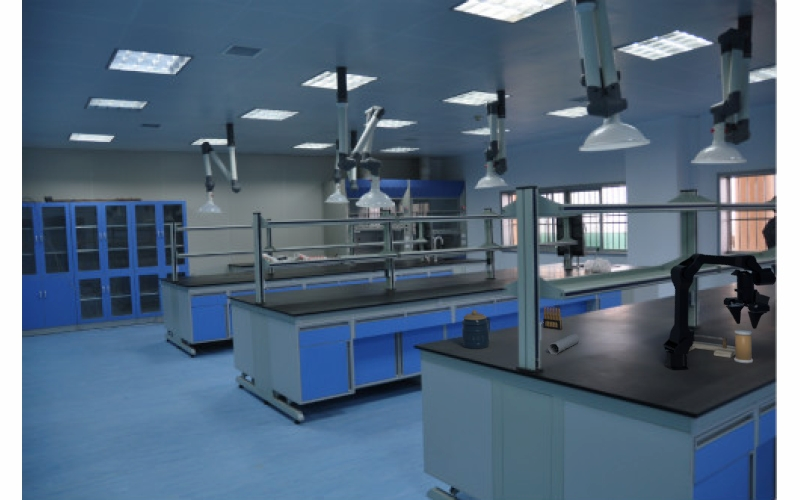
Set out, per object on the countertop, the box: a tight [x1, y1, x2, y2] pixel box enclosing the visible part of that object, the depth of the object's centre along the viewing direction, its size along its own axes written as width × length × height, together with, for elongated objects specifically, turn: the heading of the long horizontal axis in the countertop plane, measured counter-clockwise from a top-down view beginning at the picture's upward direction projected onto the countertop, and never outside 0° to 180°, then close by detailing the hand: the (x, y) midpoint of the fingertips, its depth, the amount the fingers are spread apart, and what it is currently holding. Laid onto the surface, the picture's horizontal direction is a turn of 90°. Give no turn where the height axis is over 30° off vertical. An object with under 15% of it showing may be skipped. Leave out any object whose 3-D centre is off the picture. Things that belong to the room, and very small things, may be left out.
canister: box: [461, 309, 490, 350], centre depth 259 cm, size 13×13×18 cm
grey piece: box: [689, 333, 735, 358], centre depth 230 cm, size 14×22×6 cm, turn 42°
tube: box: [547, 333, 580, 355], centre depth 247 cm, size 5×5×25 cm
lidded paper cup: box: [733, 329, 754, 364], centre depth 212 cm, size 6×6×12 cm
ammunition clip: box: [542, 305, 563, 331], centre depth 289 cm, size 11×2×12 cm, turn 41°
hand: (746, 326), depth 208 cm, fingers open, 9 cm apart
